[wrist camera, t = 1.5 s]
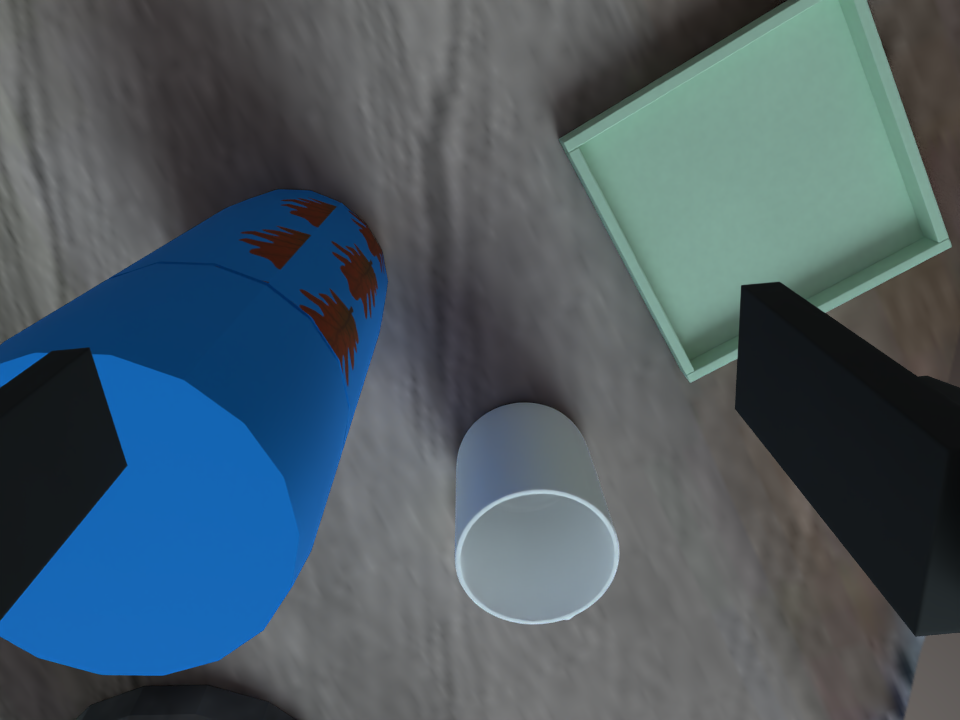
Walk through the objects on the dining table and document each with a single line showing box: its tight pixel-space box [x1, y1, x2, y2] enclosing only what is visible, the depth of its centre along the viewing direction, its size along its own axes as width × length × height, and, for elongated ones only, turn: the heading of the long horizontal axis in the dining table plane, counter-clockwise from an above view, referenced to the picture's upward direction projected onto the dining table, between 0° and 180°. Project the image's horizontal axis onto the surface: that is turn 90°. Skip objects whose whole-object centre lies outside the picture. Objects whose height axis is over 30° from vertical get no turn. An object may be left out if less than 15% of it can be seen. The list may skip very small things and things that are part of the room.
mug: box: [455, 403, 620, 624], centre depth 43 cm, size 9×12×11 cm
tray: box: [559, 0, 952, 383], centre depth 40 cm, size 16×16×2 cm
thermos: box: [0, 189, 388, 676], centre depth 31 cm, size 11×11×25 cm
